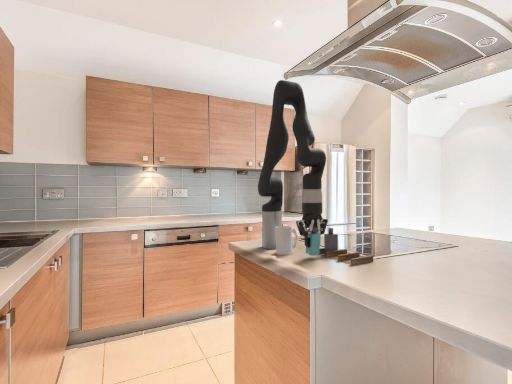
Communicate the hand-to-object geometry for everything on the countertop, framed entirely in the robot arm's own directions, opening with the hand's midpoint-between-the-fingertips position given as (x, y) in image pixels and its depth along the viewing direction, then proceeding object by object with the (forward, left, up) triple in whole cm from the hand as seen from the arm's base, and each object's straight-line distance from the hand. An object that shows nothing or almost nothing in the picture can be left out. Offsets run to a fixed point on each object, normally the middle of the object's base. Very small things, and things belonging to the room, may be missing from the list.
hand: (312, 246), depth 107 cm
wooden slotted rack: (+5, +10, -6) cm, 13 cm away
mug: (-13, -3, -6) cm, 14 cm away
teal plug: (0, 0, -3) cm, 3 cm away
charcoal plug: (-1, +10, -4) cm, 11 cm away
